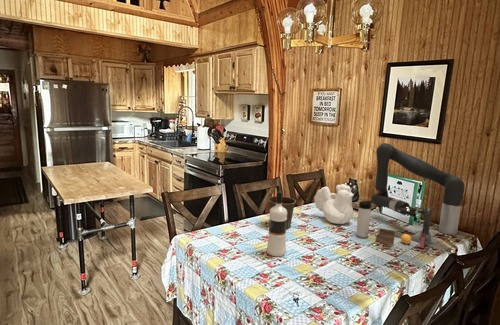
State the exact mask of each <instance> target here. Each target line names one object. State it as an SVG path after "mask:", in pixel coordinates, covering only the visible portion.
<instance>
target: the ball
mask: <svg viewBox="0 0 500 325" xmlns="http://www.w3.org/2000/svg"><path fill="white" fill-rule="evenodd" d="M403 234H404V235H402V236H401V238H400V240H401V242H402V243H403V244H406V245H407V244H410V243H411V241H412V240H411V237H410V236H409V235H410V234H408V233H403Z"/></svg>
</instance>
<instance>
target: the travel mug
mask: <svg viewBox="0 0 500 325" xmlns="http://www.w3.org/2000/svg"><path fill="white" fill-rule="evenodd" d="M372 204H373V203H372V201H367V200H366V201H365V200H362V201H359V203H358V209H357V210H358V211H357V223H356V234H355V235H356V237H358V238H359V239H368V237H369V229H370V220H371V211H372V207H371V206H372Z"/></svg>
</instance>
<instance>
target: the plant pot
mask: <svg viewBox="0 0 500 325" xmlns="http://www.w3.org/2000/svg"><path fill="white" fill-rule="evenodd" d="M276 197H277V195H276V196H269V197H268V199H267V200H268V207H269V210H270V209H271V208H272V207H274V206H276ZM296 203H297V200H295V199H294V198H292V197H288V196H283V195H282V207H284V208H285V209H286V210H287V220H286V230H288V229H291V227H292V226H291V225H292V220H293V214H294V209H295V205H296Z"/></svg>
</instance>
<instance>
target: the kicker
mask: <svg viewBox="0 0 500 325" xmlns="http://www.w3.org/2000/svg"><path fill="white" fill-rule="evenodd" d="M424 211H425V215H423V225H422V230H420V231H419V237H420V242H419V248H421V249H424V247H425V243H424V241H425V240H427V241H430V240H431V239H432V235H431V232H430V228H431V221H432V214H433V213H432V212H433V208H432V207H425V209H424Z"/></svg>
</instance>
